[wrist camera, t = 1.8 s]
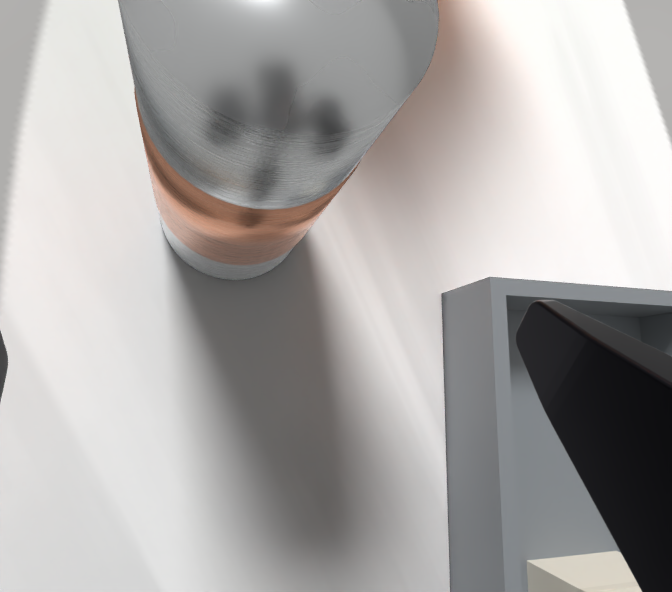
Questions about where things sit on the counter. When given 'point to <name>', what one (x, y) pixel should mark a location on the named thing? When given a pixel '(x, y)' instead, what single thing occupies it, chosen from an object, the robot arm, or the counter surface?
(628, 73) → the counter surface
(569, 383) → the robot arm
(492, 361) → the grey rectangular tray
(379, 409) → the counter surface
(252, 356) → the counter surface
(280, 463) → the counter surface
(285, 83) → the steel tin
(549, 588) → the cream smooth square block
